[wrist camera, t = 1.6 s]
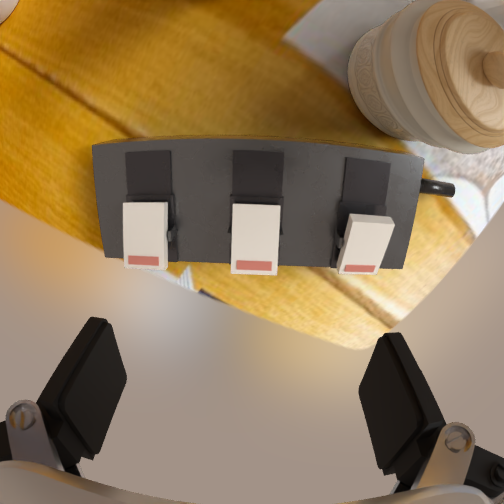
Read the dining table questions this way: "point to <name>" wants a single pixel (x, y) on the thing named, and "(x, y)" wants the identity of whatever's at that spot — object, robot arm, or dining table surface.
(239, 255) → the rocker
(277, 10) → the dining table surface
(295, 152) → the switch box
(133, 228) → the rocker
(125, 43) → the dining table surface
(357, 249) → the rocker
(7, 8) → the pill bottle
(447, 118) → the jar
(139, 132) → the dining table surface
